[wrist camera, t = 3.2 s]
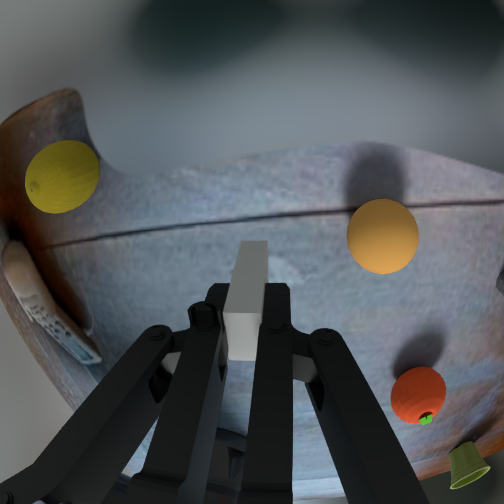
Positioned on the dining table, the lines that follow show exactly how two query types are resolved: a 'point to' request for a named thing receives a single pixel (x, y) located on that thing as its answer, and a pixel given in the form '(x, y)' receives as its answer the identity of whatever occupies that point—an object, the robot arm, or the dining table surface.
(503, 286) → the post
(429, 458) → the dining table surface
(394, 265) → the ball
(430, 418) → the clementine
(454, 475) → the plant pot
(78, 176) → the lemon
